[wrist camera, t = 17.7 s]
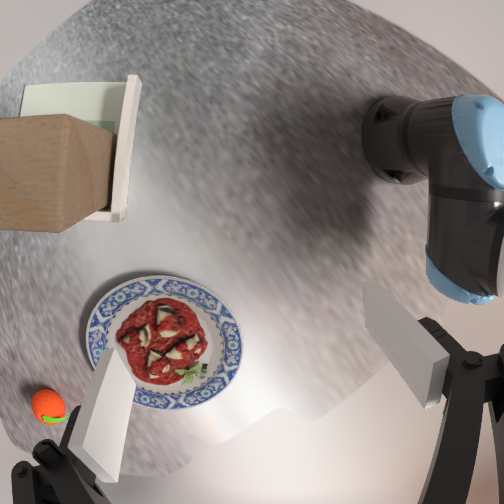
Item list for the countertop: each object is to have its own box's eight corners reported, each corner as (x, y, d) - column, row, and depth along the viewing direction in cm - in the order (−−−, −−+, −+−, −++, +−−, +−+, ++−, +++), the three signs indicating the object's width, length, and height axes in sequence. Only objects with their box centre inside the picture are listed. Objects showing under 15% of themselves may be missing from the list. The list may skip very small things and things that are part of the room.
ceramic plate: (60, 312, 46) (54, 320, 43) (196, 241, 47) (197, 246, 44) (143, 419, 54) (142, 429, 51) (264, 368, 56) (268, 377, 53)
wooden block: (112, 204, 42) (61, 234, 24) (50, 201, 40) (-26, 229, 21) (118, 133, 40) (69, 112, 21) (54, 133, 38) (-22, 120, 19)
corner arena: (142, 83, 39) (137, 74, 35) (126, 216, 44) (119, 222, 39) (27, 86, 35) (12, 80, 30) (14, 209, 40) (-2, 214, 35)
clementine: (71, 386, 49) (61, 410, 42) (76, 412, 51) (68, 437, 44) (34, 379, 47) (22, 401, 41) (41, 405, 49) (31, 428, 42)
